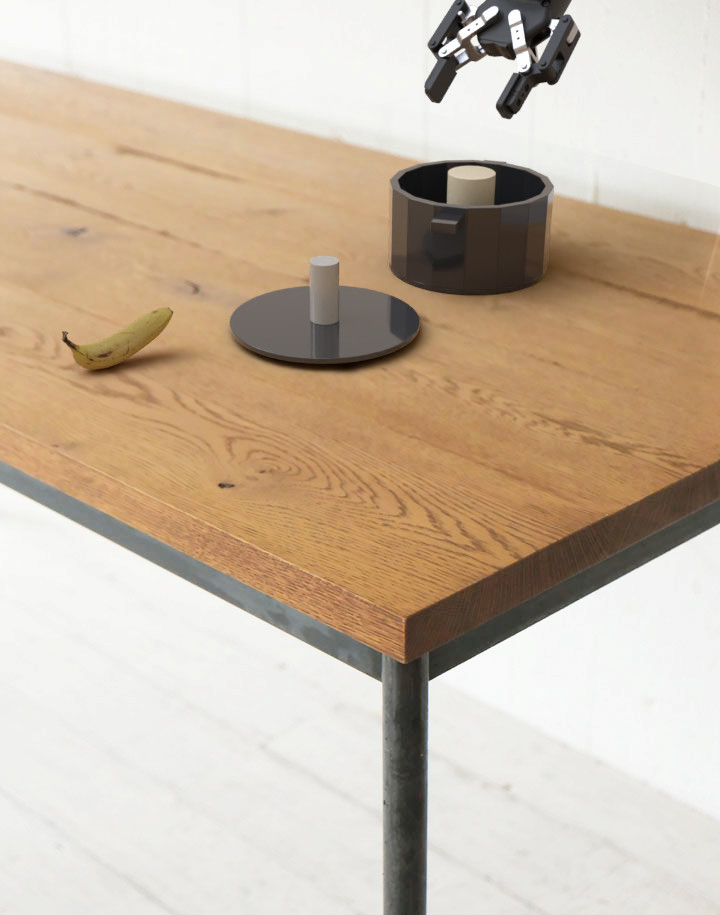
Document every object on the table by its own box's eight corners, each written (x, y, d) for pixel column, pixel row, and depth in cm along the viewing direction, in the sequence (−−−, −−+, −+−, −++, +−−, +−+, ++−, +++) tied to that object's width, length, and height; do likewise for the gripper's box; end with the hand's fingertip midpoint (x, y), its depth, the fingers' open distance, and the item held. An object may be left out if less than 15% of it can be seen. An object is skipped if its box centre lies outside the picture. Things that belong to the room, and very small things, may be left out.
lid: (440, 308, 125) (443, 240, 121) (387, 382, 110) (389, 307, 107) (270, 287, 129) (268, 220, 126) (199, 355, 115) (195, 282, 112)
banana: (167, 344, 117) (164, 301, 115) (181, 353, 115) (178, 310, 113) (59, 372, 112) (54, 327, 110) (72, 382, 110) (67, 337, 108)
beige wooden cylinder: (495, 255, 135) (500, 168, 131) (485, 271, 132) (489, 181, 127) (451, 250, 137) (454, 163, 132) (439, 266, 133) (442, 176, 129)
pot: (564, 240, 141) (570, 161, 137) (522, 313, 123) (528, 224, 119) (420, 225, 145) (422, 147, 141) (360, 293, 128) (361, 206, 124)
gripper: (472, -71, 129) (390, 70, 127) (596, -57, 120) (511, 94, 119) (503, -20, 135) (425, 116, 133) (624, -2, 126) (543, 142, 124)
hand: (466, 105), depth 126 cm, fingers open, 8 cm apart
